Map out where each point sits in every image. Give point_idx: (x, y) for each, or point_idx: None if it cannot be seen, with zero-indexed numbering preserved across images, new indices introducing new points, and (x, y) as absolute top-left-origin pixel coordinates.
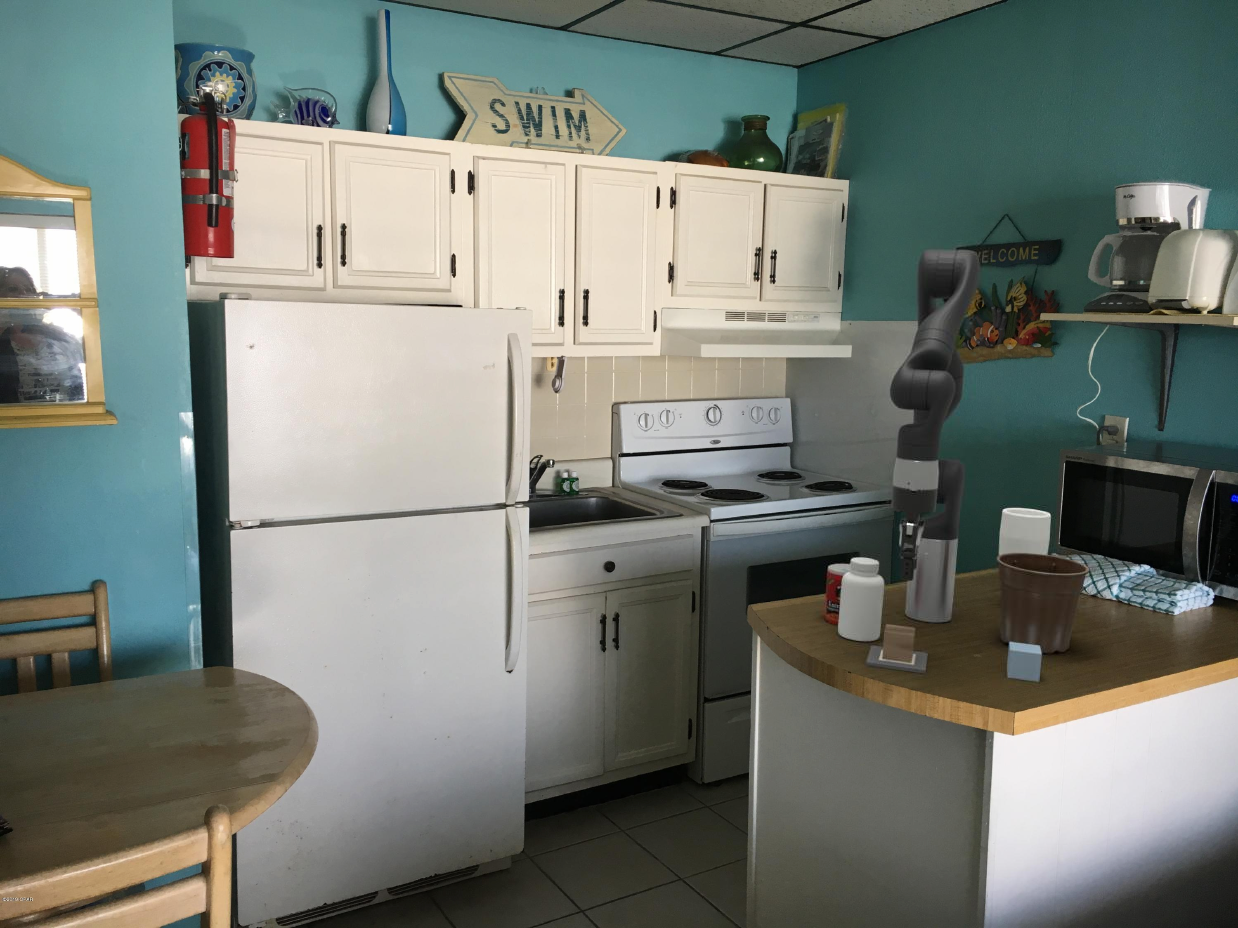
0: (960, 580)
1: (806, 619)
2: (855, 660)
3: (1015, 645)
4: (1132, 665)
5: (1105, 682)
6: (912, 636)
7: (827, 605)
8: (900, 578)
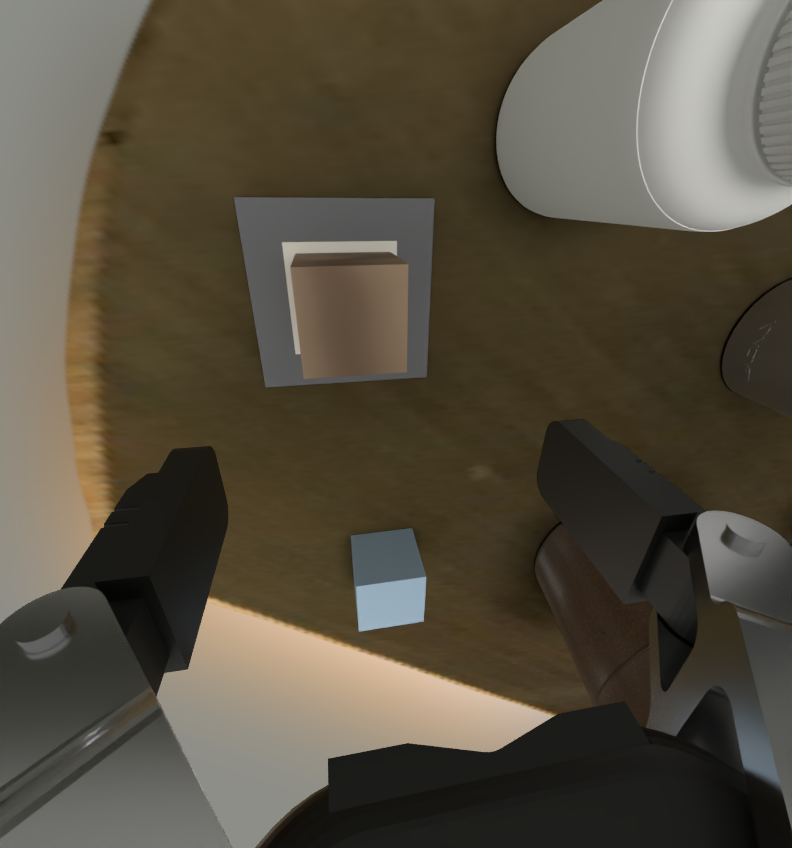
0: None
1: None
2: (268, 149)
3: (400, 589)
4: (511, 659)
5: (405, 645)
6: (303, 373)
7: None
8: (176, 449)
